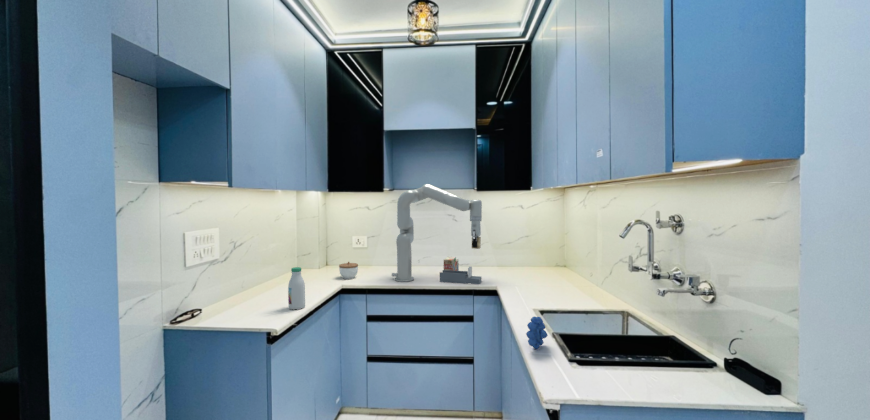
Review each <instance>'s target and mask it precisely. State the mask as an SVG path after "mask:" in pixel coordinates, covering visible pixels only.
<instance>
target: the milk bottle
mask: <svg viewBox="0 0 870 420" xmlns="http://www.w3.org/2000/svg"><path fill="white" fill-rule="evenodd" d="M290 273H291V277H290V279H289V282H288V288H287V294H288V299H287V300H288V309H289V308H290V309H289V310H291V309H297V310H301V308H302V309H305V307H306V285H305V284H306V283H305V279H304V278H303V276H302V267H300V266H299V267H298V266H297V267H291V272H290Z"/></svg>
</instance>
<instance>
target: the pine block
mask: <svg viewBox="0 0 870 420" xmlns="http://www.w3.org/2000/svg"><path fill="white" fill-rule="evenodd" d="M481 245H482V244H481V236H479V237H477V248H475V247H472V246H471V249H474V250H475V249H478V250H479V249H481Z"/></svg>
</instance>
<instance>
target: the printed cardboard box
mask: <svg viewBox="0 0 870 420" xmlns="http://www.w3.org/2000/svg"><path fill="white" fill-rule="evenodd" d="M443 270H453V271H460V270H459V258H457V257H456V256H447V257H445V258H444V259H443Z"/></svg>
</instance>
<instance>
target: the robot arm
mask: <svg viewBox="0 0 870 420" xmlns="http://www.w3.org/2000/svg"><path fill="white" fill-rule="evenodd" d="M426 199H431V200H433V201H436V202H438V203H441V204H443V205H446V206H449V207H452V208H454V209H456V210H458V211H461V212H466V211H469V221H470V222H471V224H470V225H471V226H470V227H471V228H470V231H471V232H470V236H471V248H472V247H475V248H477V237H481V235H482V234H481V233H482V231H481V222H482V219H483V218H482V213H483V212H482V211H483V210H482V208H483V205H482V204H483V203H482V200H480V199H466V198H463V197H459V196H458V195H454V194H453V193H451V192H449V191H448V190H445V189H443V188H440V187H437V186H435V185H432V184H429V183H424V184H423V185H422V186H421V187H418V188H415V189H409V190H408V189H407V190H406V191H404V192H402V193H401V194H400V196H399V197H398V200H397V211H396V213H397V215H396V216H397V217H396V219H397V221H396V223H397V224H396V225H397V227H398V229H399V234H398V235H397V237H396V241H395V242H396V243H395V244H396V250H397V251H396V261H397V263H396V265H397V266H396V267H397V269H396V271H397V272H391V276H392V277H395V278H394V281H396V282H401V283H402V282H403V283H405V282H412V281H414V280H415V277H414V276H412V275H413V274H412V270H413V269H412V263H413V262H412V243H413V241H414V239H415V238H414V237H415V236H414V234H415V232H414V219H413V218H412V217H411V204H415V203H417V202H420V201H423V200H426Z"/></svg>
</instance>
